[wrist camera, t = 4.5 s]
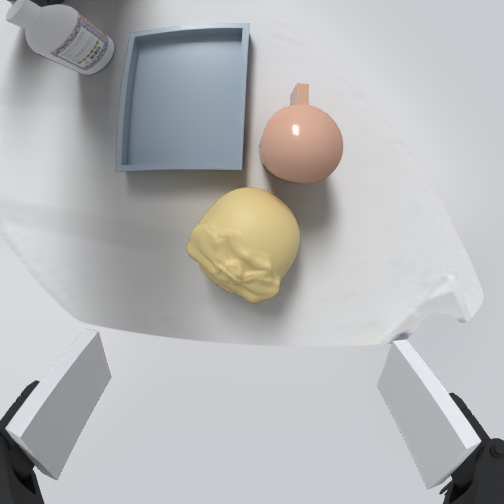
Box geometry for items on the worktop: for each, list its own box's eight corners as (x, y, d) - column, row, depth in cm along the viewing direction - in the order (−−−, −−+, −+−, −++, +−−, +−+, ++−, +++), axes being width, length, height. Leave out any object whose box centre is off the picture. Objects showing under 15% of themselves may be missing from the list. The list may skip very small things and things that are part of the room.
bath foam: (122, 37, 28) (51, -25, 9) (105, 76, 30) (16, 32, 11) (88, 37, 27) (14, -11, 8) (72, 74, 29) (-16, 42, 10)
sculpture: (186, 238, 37) (163, 264, 27) (243, 168, 34) (241, 167, 24) (251, 289, 39) (252, 330, 29) (309, 225, 37) (332, 247, 26)
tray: (137, 41, 28) (130, 33, 26) (249, 33, 29) (249, 23, 26) (125, 171, 34) (115, 171, 31) (242, 170, 34) (241, 170, 32)
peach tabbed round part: (257, 178, 35) (260, 181, 26) (261, 97, 32) (265, 75, 23) (319, 182, 35) (340, 187, 26) (322, 103, 32) (344, 85, 23)
